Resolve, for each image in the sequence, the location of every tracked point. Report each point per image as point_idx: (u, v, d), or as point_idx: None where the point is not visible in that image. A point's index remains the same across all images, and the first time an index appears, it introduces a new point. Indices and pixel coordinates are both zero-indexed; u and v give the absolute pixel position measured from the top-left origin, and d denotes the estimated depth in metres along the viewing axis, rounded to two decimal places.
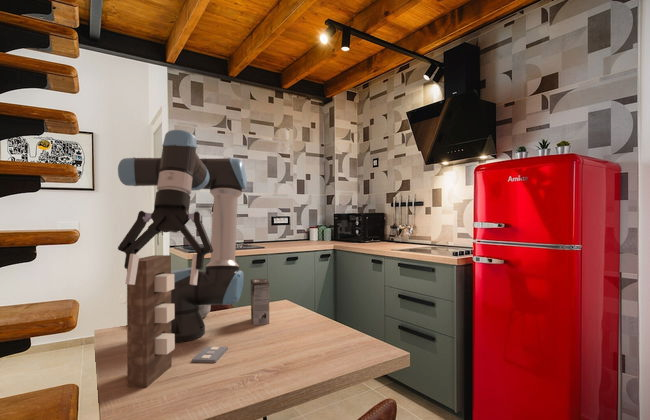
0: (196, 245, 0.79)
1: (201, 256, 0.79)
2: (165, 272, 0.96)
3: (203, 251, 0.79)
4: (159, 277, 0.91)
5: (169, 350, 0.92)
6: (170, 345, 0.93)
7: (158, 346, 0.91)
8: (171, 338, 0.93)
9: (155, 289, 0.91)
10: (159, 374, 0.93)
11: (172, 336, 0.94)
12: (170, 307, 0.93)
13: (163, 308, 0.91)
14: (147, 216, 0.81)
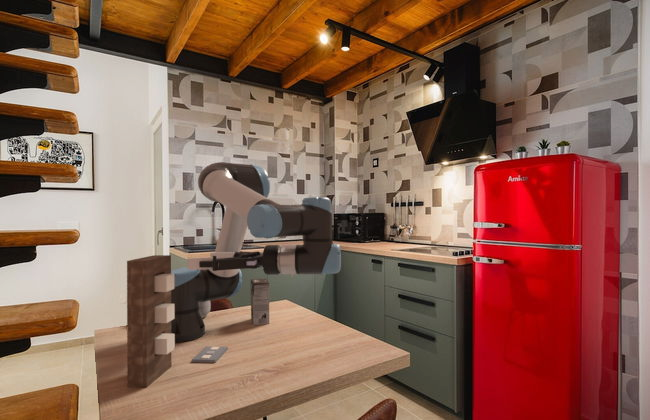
0: None
1: None
2: (165, 272, 0.96)
3: None
4: (159, 277, 0.91)
5: (169, 350, 0.92)
6: (170, 345, 0.93)
7: (158, 346, 0.91)
8: (171, 338, 0.93)
9: (155, 289, 0.91)
10: (159, 374, 0.93)
11: (172, 336, 0.94)
12: (170, 307, 0.93)
13: (163, 308, 0.91)
14: None
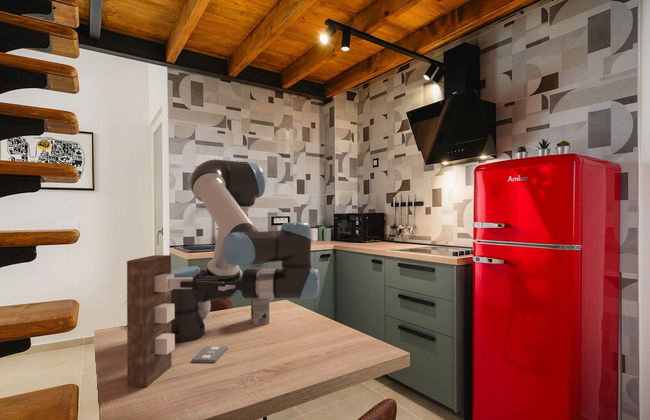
0: None
1: None
2: (165, 272, 0.96)
3: None
4: (159, 277, 0.91)
5: (169, 350, 0.92)
6: (170, 345, 0.93)
7: (158, 346, 0.91)
8: (171, 338, 0.93)
9: (154, 289, 0.91)
10: (159, 374, 0.93)
11: (172, 336, 0.94)
12: (170, 307, 0.93)
13: (163, 308, 0.91)
14: None
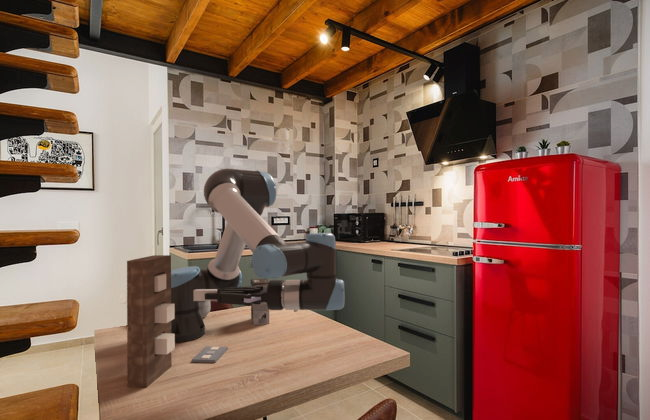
0: None
1: None
2: (165, 272, 0.96)
3: None
4: None
5: (169, 350, 0.92)
6: (170, 345, 0.93)
7: (158, 346, 0.91)
8: (171, 338, 0.93)
9: None
10: (159, 374, 0.93)
11: (172, 336, 0.94)
12: (170, 307, 0.93)
13: (163, 308, 0.91)
14: None
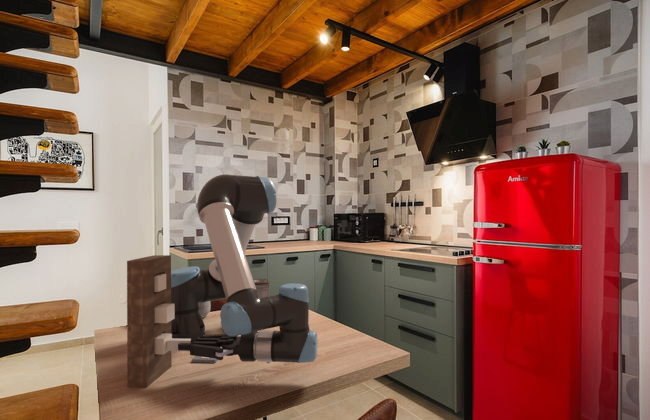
0: None
1: None
2: (165, 272, 0.96)
3: None
4: None
5: (166, 350, 0.92)
6: None
7: (155, 346, 0.91)
8: (168, 338, 0.93)
9: None
10: (159, 374, 0.93)
11: (169, 336, 0.94)
12: (170, 307, 0.93)
13: (163, 308, 0.91)
14: None
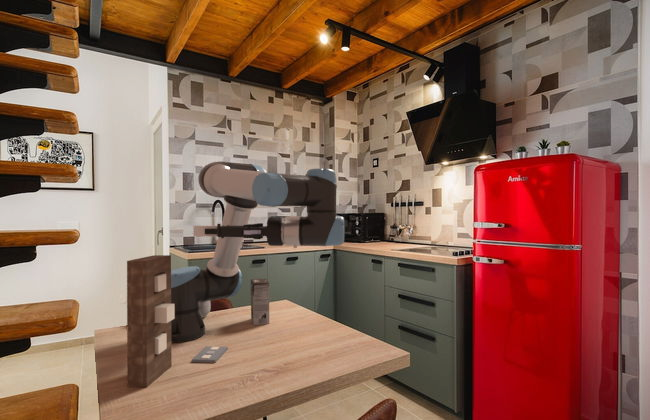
0: None
1: None
2: (165, 272, 0.96)
3: None
4: None
5: (161, 350, 0.92)
6: (162, 345, 0.93)
7: None
8: (163, 338, 0.93)
9: None
10: (159, 374, 0.93)
11: (164, 336, 0.94)
12: (170, 307, 0.93)
13: (163, 308, 0.91)
14: (251, 234, 0.87)
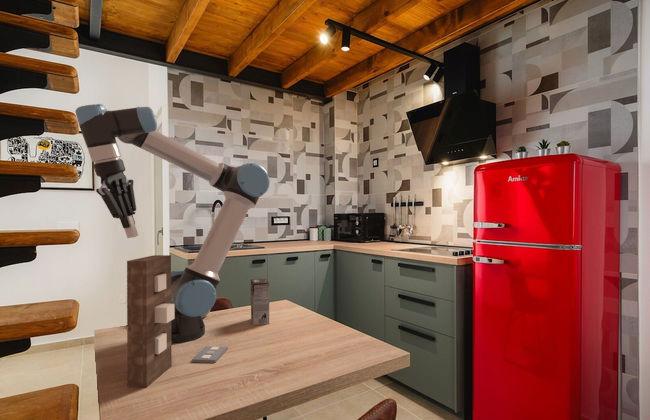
0: None
1: None
2: (165, 272, 0.96)
3: None
4: None
5: (161, 350, 0.92)
6: (162, 345, 0.93)
7: None
8: (163, 338, 0.93)
9: None
10: (159, 374, 0.93)
11: (164, 336, 0.94)
12: (170, 307, 0.93)
13: (163, 308, 0.91)
14: None
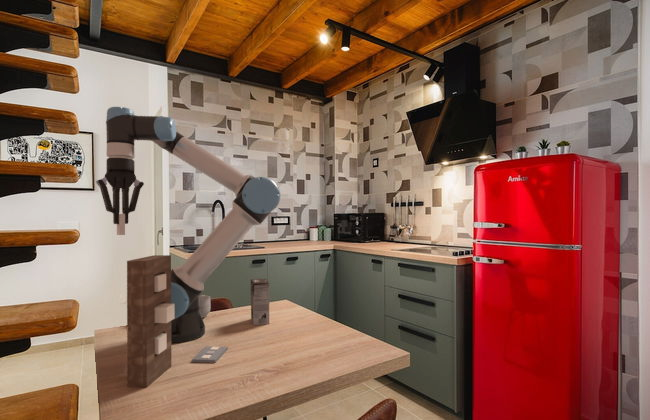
0: None
1: None
2: (165, 272, 0.96)
3: None
4: None
5: (161, 350, 0.92)
6: (162, 345, 0.93)
7: None
8: (163, 338, 0.93)
9: None
10: (159, 374, 0.93)
11: (164, 336, 0.94)
12: (170, 307, 0.93)
13: (163, 308, 0.91)
14: None
